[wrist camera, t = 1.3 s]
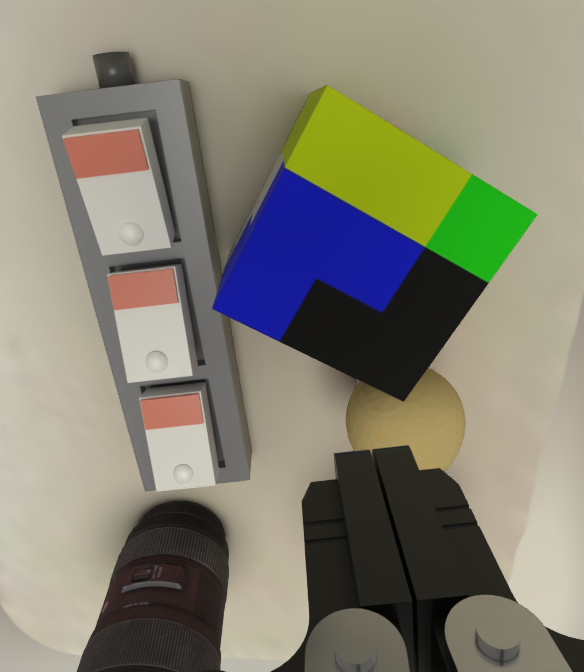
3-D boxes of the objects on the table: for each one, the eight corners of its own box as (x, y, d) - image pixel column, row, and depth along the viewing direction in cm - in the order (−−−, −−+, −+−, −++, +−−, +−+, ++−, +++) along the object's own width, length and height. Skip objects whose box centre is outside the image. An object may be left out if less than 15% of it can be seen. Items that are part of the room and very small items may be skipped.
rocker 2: (117, 271, 30) (105, 274, 27) (181, 263, 29) (173, 266, 27) (136, 373, 31) (126, 384, 29) (198, 366, 31) (191, 377, 29)
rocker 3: (147, 388, 32) (138, 399, 30) (205, 381, 32) (199, 392, 30) (163, 477, 34) (155, 494, 32) (219, 471, 34) (214, 487, 32)
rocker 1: (73, 126, 25) (60, 137, 24) (147, 117, 25) (139, 127, 24) (110, 241, 29) (101, 257, 27) (175, 233, 29) (170, 249, 27)
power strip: (51, 64, 28) (25, 59, 25) (183, 48, 28) (172, 41, 25) (155, 461, 38) (145, 491, 35) (251, 451, 38) (249, 480, 35)
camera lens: (108, 544, 41) (23, 764, 27) (164, 475, 39) (102, 679, 25) (195, 588, 43) (158, 814, 29) (254, 526, 41) (243, 739, 27)
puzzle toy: (229, 251, 32) (211, 308, 23) (310, 92, 29) (327, 85, 20) (369, 323, 34) (403, 402, 25) (459, 183, 31) (537, 214, 22)
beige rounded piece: (431, 315, 34) (490, 398, 25) (424, 400, 37) (475, 502, 28) (332, 320, 34) (356, 405, 25) (332, 404, 37) (353, 509, 28)
